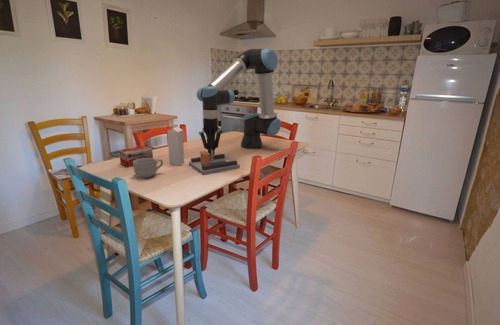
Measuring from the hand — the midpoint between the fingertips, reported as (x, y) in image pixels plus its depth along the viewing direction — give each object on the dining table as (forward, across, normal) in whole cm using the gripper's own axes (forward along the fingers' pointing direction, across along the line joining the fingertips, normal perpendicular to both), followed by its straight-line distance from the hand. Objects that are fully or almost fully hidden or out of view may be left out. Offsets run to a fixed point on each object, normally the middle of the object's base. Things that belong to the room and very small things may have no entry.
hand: (211, 160), depth 153 cm
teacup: (+3, +32, -3) cm, 33 cm away
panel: (+4, -2, 0) cm, 4 cm away
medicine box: (+3, +33, -25) cm, 42 cm away
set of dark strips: (+2, -2, 0) cm, 2 cm away
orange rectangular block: (+1, +4, 0) cm, 4 cm away
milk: (+4, +14, -14) cm, 20 cm away
